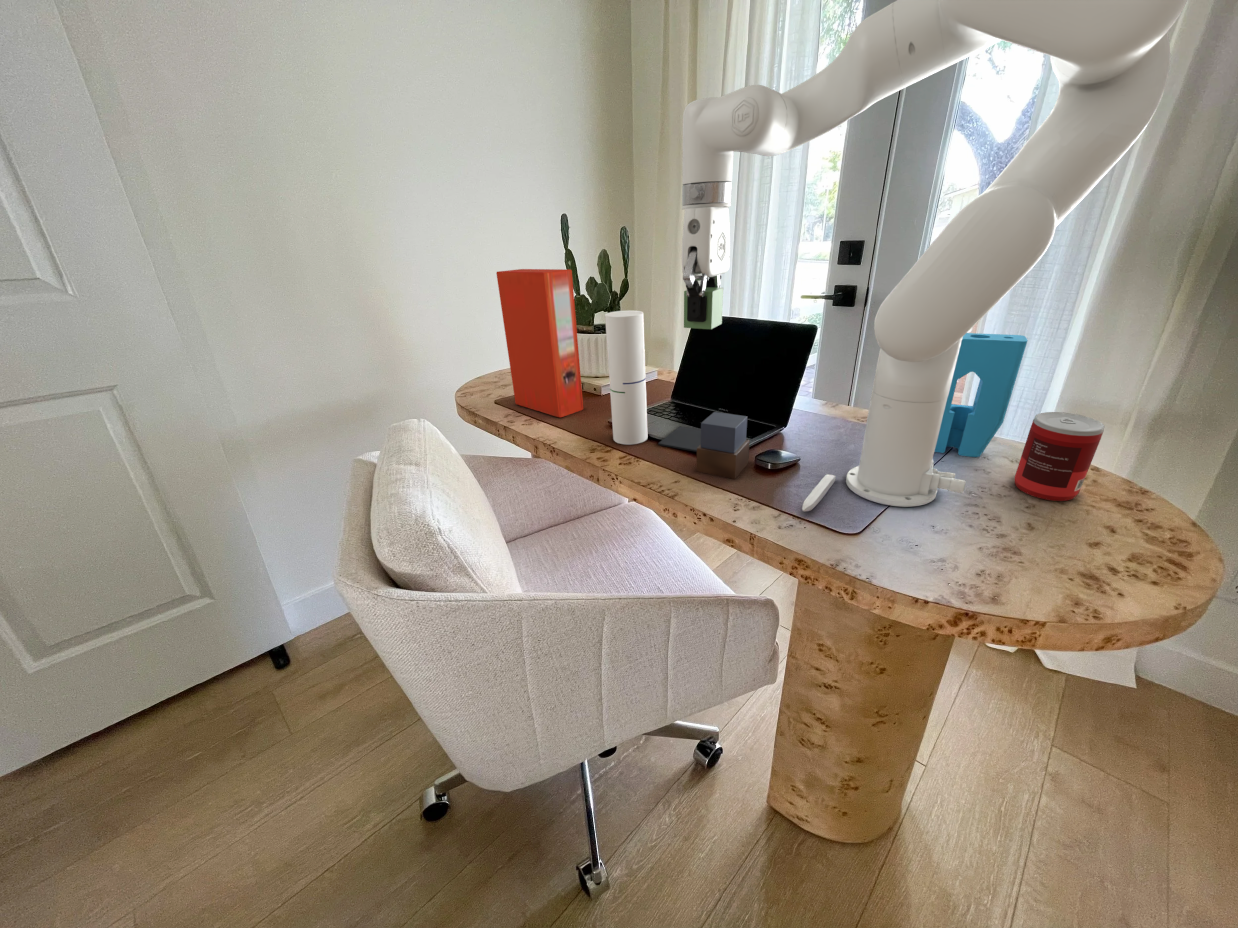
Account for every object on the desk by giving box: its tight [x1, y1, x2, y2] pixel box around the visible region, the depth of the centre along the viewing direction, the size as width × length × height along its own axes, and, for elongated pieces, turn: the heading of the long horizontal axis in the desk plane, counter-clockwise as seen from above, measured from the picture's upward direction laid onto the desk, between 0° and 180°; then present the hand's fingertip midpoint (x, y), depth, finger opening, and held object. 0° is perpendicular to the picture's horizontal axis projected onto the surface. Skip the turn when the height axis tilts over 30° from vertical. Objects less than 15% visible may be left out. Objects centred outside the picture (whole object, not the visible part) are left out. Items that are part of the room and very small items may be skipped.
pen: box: [801, 473, 836, 512], centre depth 75 cm, size 2×14×2 cm, turn 142°
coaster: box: [657, 425, 701, 453], centre depth 99 cm, size 10×10×1 cm
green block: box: [683, 287, 724, 330], centre depth 83 cm, size 5×5×6 cm
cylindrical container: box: [604, 309, 649, 446], centre depth 96 cm, size 7×7×25 cm
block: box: [934, 332, 1029, 458], centre depth 84 cm, size 12×5×20 cm, turn 59°
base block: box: [696, 438, 751, 480], centre depth 86 cm, size 7×7×4 cm
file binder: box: [496, 268, 584, 419], centre depth 116 cm, size 8×17×32 cm, turn 47°
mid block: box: [700, 411, 748, 453], centre depth 84 cm, size 6×6×4 cm
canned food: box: [1014, 411, 1105, 502], centre depth 72 cm, size 8×8×11 cm
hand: (703, 317), depth 84 cm, fingers closed on green block, 5 cm apart
